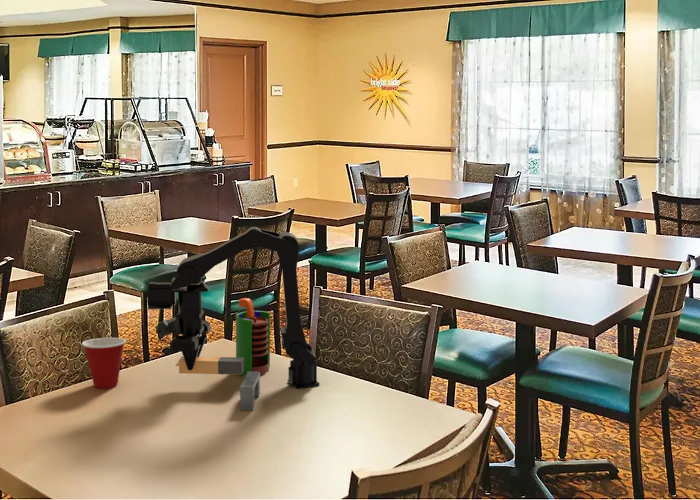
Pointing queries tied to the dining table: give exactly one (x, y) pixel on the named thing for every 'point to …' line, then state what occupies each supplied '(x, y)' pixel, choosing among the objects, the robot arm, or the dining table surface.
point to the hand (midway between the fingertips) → (191, 367)
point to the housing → (249, 390)
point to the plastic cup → (104, 360)
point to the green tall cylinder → (253, 338)
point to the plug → (213, 365)
